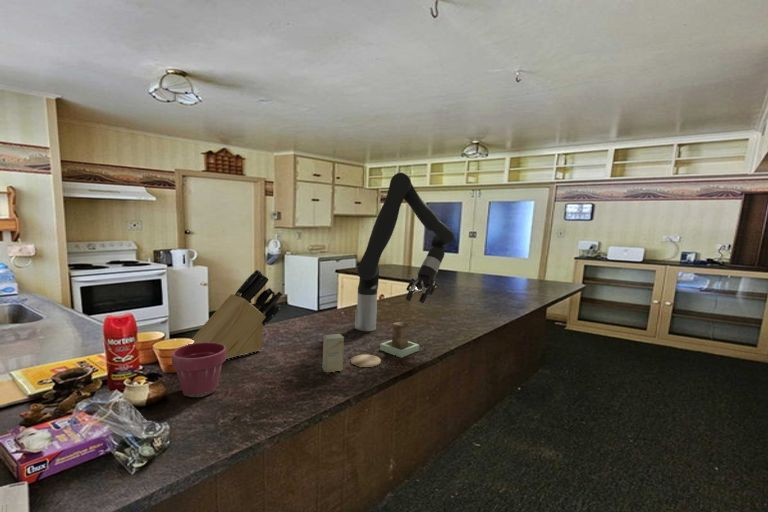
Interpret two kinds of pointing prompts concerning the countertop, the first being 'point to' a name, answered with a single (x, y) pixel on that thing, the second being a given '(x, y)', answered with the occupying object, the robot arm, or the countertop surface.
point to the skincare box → (333, 352)
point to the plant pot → (199, 366)
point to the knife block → (241, 318)
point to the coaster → (366, 360)
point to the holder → (400, 353)
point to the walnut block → (400, 335)
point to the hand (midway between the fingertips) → (414, 301)
